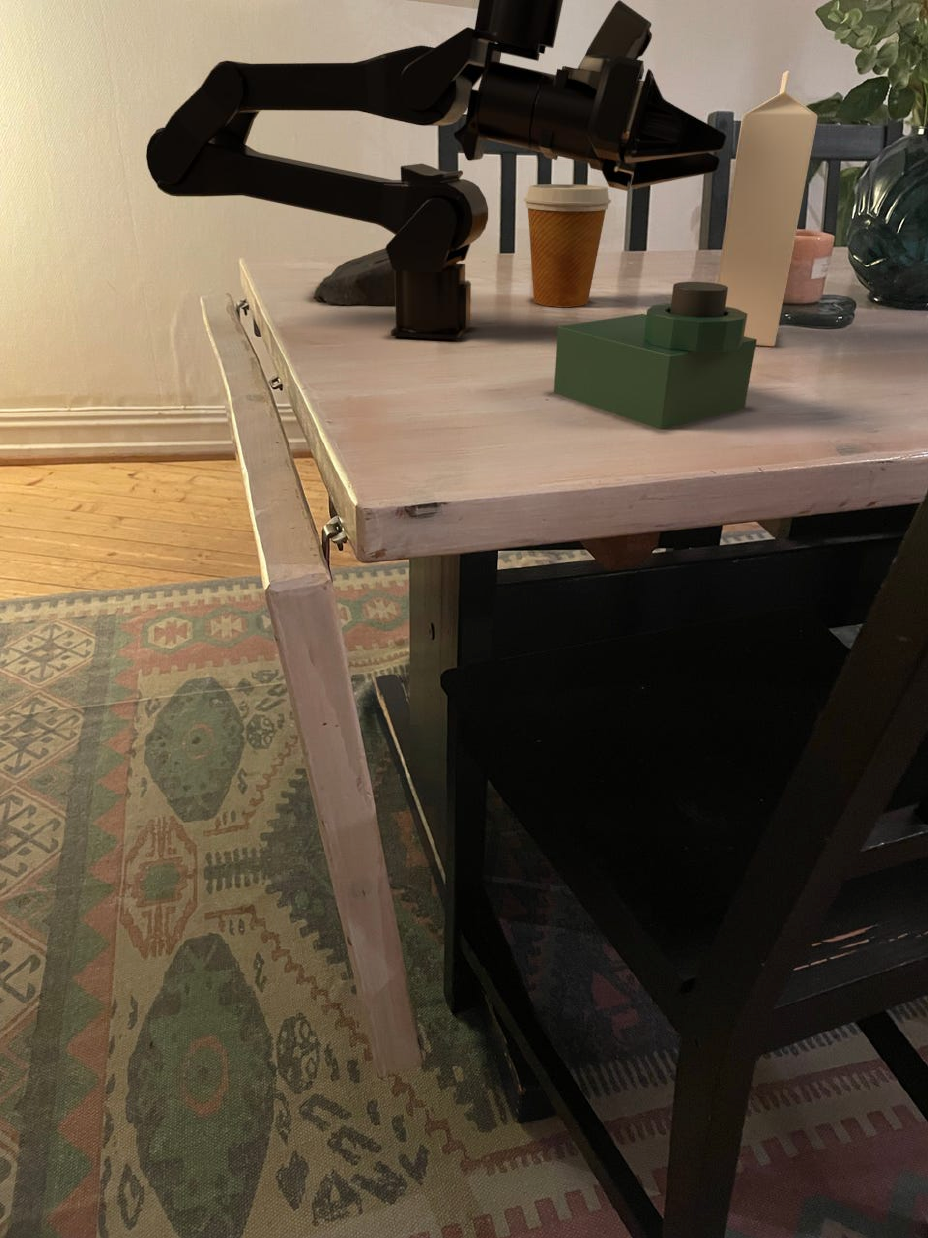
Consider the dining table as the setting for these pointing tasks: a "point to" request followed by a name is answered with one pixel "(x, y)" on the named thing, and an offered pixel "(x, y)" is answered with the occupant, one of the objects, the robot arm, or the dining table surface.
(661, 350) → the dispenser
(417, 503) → the dining table surface
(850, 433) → the dining table surface
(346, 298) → the dark slate chunk
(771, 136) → the milk
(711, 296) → the button
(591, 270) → the disposable coffee cup
